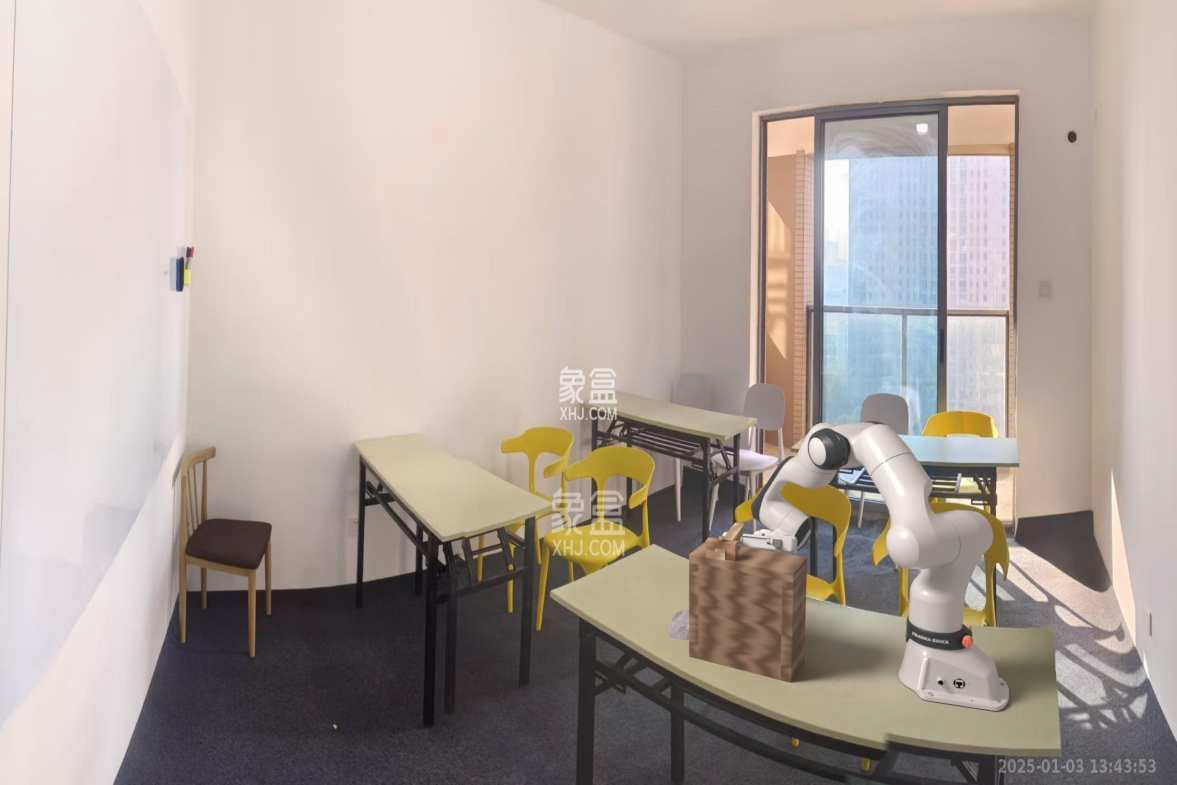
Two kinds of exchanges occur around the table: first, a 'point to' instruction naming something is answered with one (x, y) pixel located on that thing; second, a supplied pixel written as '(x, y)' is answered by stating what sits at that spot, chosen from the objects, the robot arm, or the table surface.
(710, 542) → the marking gauge
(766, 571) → the wood grain box
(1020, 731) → the table surface
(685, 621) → the lavender lumpy chunk
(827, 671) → the table surface
